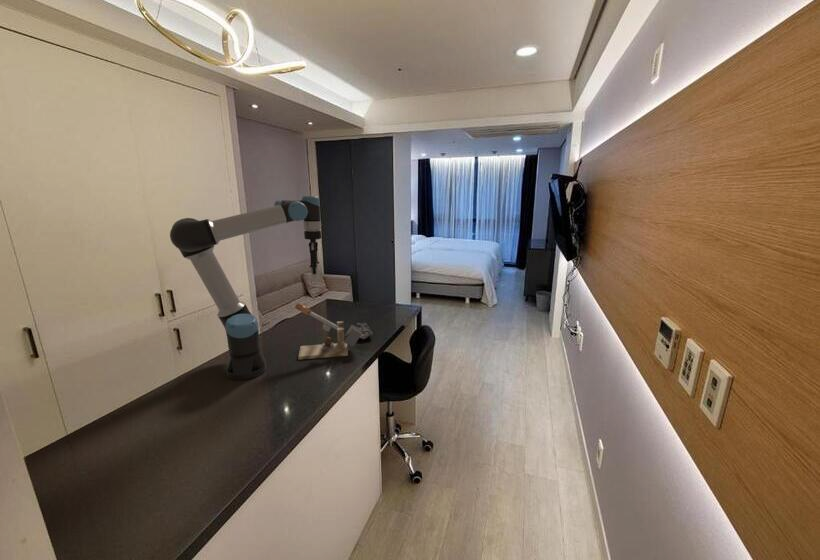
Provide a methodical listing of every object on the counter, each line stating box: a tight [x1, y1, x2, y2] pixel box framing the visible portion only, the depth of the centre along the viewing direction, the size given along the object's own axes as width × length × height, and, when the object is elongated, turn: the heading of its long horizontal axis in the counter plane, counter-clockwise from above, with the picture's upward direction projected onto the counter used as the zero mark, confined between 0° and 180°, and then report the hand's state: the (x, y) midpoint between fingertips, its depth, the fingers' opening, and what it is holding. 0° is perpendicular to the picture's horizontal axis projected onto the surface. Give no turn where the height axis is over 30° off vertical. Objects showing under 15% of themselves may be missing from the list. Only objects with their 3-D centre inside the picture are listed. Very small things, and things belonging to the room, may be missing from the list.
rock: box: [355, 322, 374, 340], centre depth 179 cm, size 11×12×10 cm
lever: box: [294, 302, 361, 348], centre depth 158 cm, size 32×6×8 cm
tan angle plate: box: [297, 320, 349, 360], centre depth 160 cm, size 22×11×13 cm, turn 102°
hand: (315, 278), depth 164 cm, fingers open, 6 cm apart
